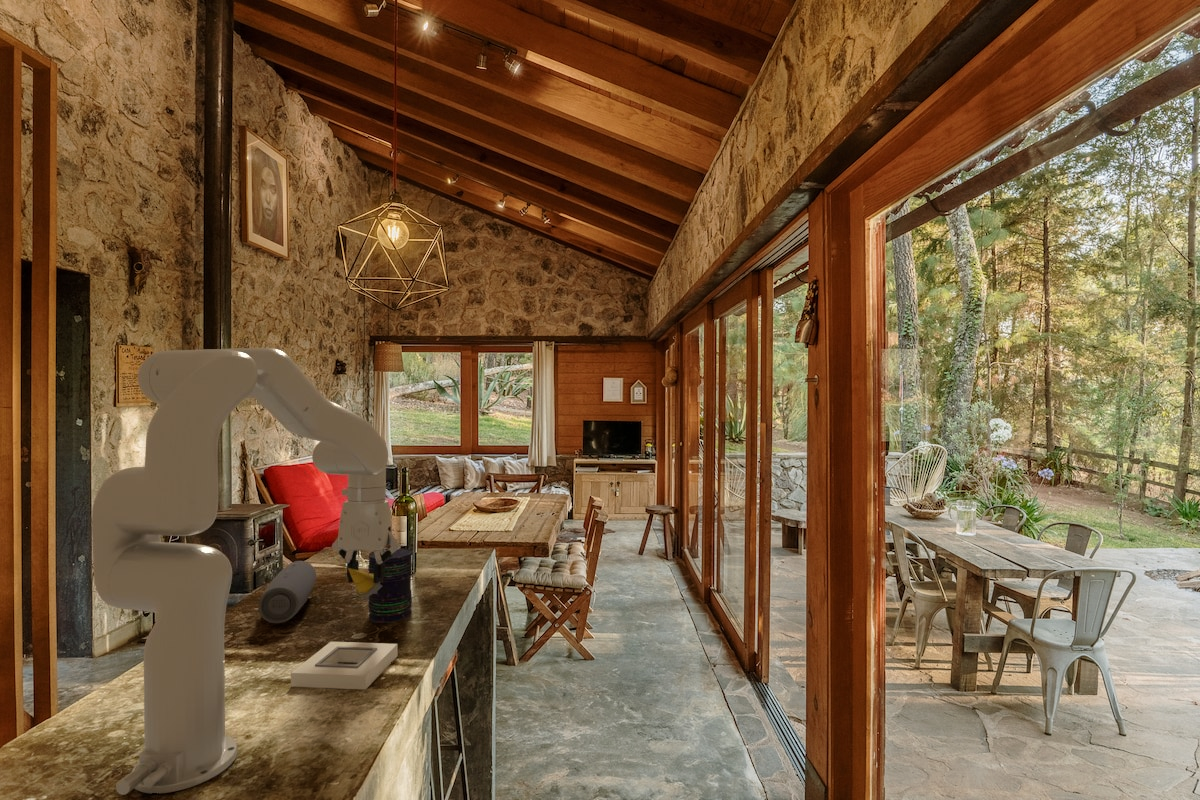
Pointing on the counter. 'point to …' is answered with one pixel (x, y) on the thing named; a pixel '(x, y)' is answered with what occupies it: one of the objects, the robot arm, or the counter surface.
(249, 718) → the counter surface
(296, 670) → the square frame plate
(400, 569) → the black cylinder
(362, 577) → the yellow ridged cone
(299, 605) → the bluetooth speaker
